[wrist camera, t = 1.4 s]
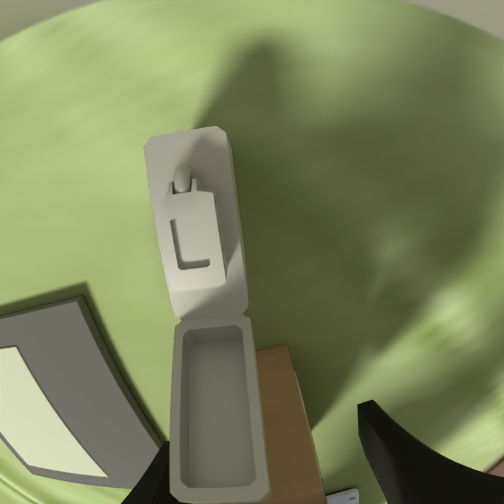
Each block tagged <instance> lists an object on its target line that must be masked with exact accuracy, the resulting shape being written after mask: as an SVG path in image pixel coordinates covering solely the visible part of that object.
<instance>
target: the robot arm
mask: <svg viewBox="0 0 504 504" xmlns="http://www.w3.org/2000/svg"><path fill="white" fill-rule="evenodd" d="M357 408H358V430H359V437H360V440H361V443H362V447H363V449H364V452H365V455H366V457H367V460H368V462H369V464H370V466H371V468H372V470H373V472H374V474H375V476H376V478H377V480H378V483H379V485H380V487H381V489H382V491H383V493H384V495H385V498H386V500H387V503H388V504H504V477H500V476H495V475H491V474H487V473H484V472H481V471H478V470H474V469H472V468H469V467H467V466H464V465H462V464H459V463H457V462H455V461H453V460H451V459H449V458H447V457H445V456H443V455H441V454H439V453H437V452H436V451H434V450H432V449H431V448H429V447H428V446H426V445H425V444H423V443H422V442H420V441H419V440H417V439H416V438H415V437H413V436H412V435H411V434H410V433H408V432H407V431H406V430H405V429H403V428H402V427H401V426H400V425H399V424H397V423H396V422H395V421H394V420H393V419H392V418H391V417H390V416H389V415H388V414H387V413H386V412H385V411H384V410H383V409H382V408H381V407H380V406H379V405H378V404H377V403H376V402H375V401H374V400H370V401H367V402H364V403H361V404H358V405H357ZM326 499H327V504H359V491H358V489H350V490H347V491H343V492H340V493H336V494H332V495H328V496H326ZM121 504H191V503H184V502H179V501H178V500H177V499H176V498H175V497H174V496H173V495H172V494H171V493H170V441H165V442H164V443H163V444H162V446H161V448H160V449H159V451H158V452H157V454H156V456H155V457H154V459H153V460H152V462H151V464H150V465H149V467H148V468H147V470H146V471H145V473H144V474H143V476H142V477H141V479H140V480H139V481H138V483H137V484H136V486H135V487H134V488H133V489H132V491H131V492H130V493H129V495H128V496H127V497H126V498H125V499H124V501H123V502H122V503H121Z"/></svg>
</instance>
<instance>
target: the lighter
mask: <svg viewBox="0 0 504 504" xmlns="http://www.w3.org/2000/svg"><path fill="white" fill-rule="evenodd" d="M144 153H145V161H146V169H147V176H148V183H149V189H150V196H151V202H152V208H153V214H154V220H155V226H156V231H157V237H158V242H159V247H160V252H161V257H162V262H163V267H164V272H165V277H166V281H167V286H168V290H169V295H170V299H171V304H172V308H173V312H174V315H175V316H177V317H178V318H180V319H181V320H182V321H181V322H180V323H179V324H178V325H176V326H175V334H174V348H173V364H172V383H171V407H170V493H171V494H172V495H173V496H174V497H175V498H176V499H177V500H178V501H179V502H184V503H191V504H243V503H257V502H265V501H266V500H267V499H268V498H269V497H270V495H271V494H272V489H271V481H270V473H269V464H268V456H267V447H266V439H265V430H264V422H263V413H262V404H261V395H260V387H259V378H258V369H257V360H256V351H255V344H254V338H253V332H252V326H251V320H250V318H248V317H246V316H245V315H243V313H244V312H245V311H246V310H247V308H248V307H249V301H248V287H247V272H246V257H245V248H244V240H243V233H242V225H241V217H240V209H239V202H238V194H237V186H236V178H235V170H234V162H233V154H232V146H231V144H230V141H229V139H228V136H227V134H226V132H224V131H223V130H222V129H220V128H219V127H217V126H211V127H205V128H198V129H192V130H186V131H181V132H175V133H170V134H165V135H160V136H155V137H150V139H149V140H148V142H147V143H146V144H145V146H144Z"/></svg>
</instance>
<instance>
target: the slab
mask: <svg viewBox="0 0 504 504" xmlns="http://www.w3.org/2000/svg"><path fill="white" fill-rule="evenodd" d="M256 360H257V369H258V378H259V387H260V395H261V404H262V413H263V422H264V430H265V439H266V447H267V456H268V464H269V473H270V481H271V489H272V494H271V495H270V497H269V498H268V499H267V500H266V501H265V502H257V503H243V504H327V499H326V493H325V488H324V483H323V478H322V474H321V470H320V466H319V462H318V458H317V454H316V450H315V446H314V442H313V438H312V434H311V430H310V426H309V422H308V418H307V414H306V410H305V406H304V402H303V398H302V394H301V390H300V386H299V382H298V379H297V375H296V371H294V369H293V365H292V361H291V357H290V353H289V349H288V345H287V344H283V345H278V346H274V347H270V348H266V349H262V350H257V351H256Z"/></svg>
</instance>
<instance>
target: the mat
mask: <svg viewBox="0 0 504 504" xmlns="http://www.w3.org/2000/svg"><path fill="white" fill-rule="evenodd" d="M0 438H1V439H2V441H3V442H4V443H5V444H6V445H7V447H8V448H9V449H10V450H11V451H12V452H13V454H14V455H15V456H16V457H17V458H18V459H19V460H20V462H21V463H22V464H23V465H24V466H25V467H26V468H27V469H28V470H29V471H30V472H31V473H32V474H34V475H38V476H42V477H47V478H52V479H57V480H62V481H68V482H73V483H80V484H87V485H94V486H103V487H113V488H126V489H133V488H134V487H135V486H136V484H137V483H138V481H139V480H140V479H141V477H142V476H143V474H144V473H145V471H146V470H147V468H148V467H149V465H150V464H151V462H152V460H153V459H154V457H155V456H156V454H157V452H158V451H159V449H160V448H161V446H162V444H163V443H162V442H161V441H160V439H159V438H158V436H157V435H156V433H155V432H154V430H153V428H152V427H151V425H150V424H149V422H148V421H147V419H146V417H145V416H144V414H143V413H142V411H141V409H140V408H139V406H138V404H137V403H136V401H135V399H134V398H133V396H132V394H131V392H130V391H129V389H128V387H127V385H126V384H125V382H124V380H123V378H122V376H121V375H120V373H119V371H118V369H117V367H116V365H115V363H114V361H113V359H112V357H111V355H110V353H109V351H108V349H107V347H106V345H105V343H104V341H103V339H102V337H101V335H100V333H99V331H98V328H97V326H96V324H95V322H94V320H93V317H92V315H91V313H90V311H89V308H88V306H87V304H86V301H85V299H84V296H83V295H82V296H78V297H74V298H70V299H66V300H62V301H58V302H54V303H50V304H46V305H42V306H38V307H34V308H30V309H26V310H22V311H18V312H14V313H10V314H6V315H2V316H0Z"/></svg>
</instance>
